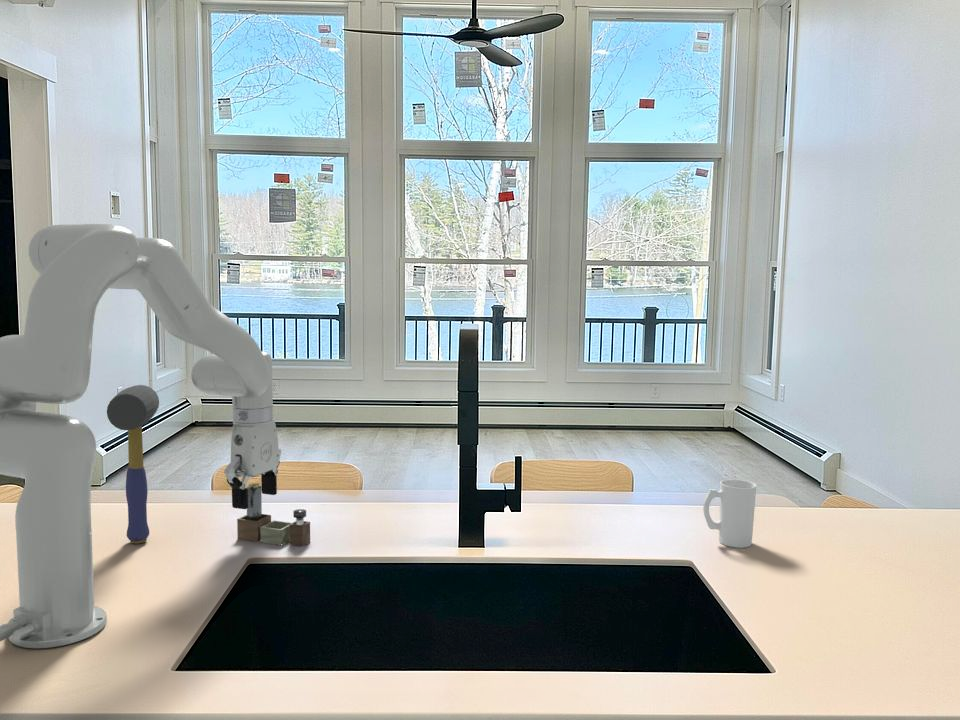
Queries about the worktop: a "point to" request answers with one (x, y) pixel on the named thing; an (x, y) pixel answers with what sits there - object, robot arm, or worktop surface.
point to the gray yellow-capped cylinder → (254, 502)
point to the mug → (733, 512)
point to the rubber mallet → (135, 451)
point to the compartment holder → (273, 531)
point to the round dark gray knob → (299, 516)
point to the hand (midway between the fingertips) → (255, 500)
